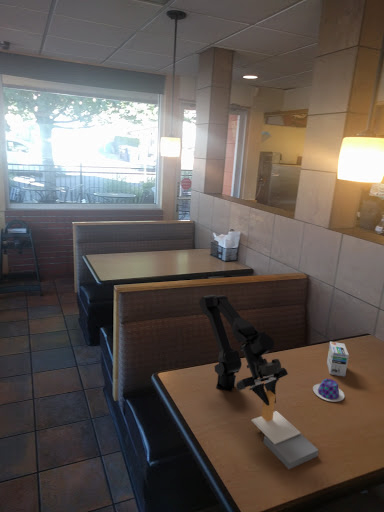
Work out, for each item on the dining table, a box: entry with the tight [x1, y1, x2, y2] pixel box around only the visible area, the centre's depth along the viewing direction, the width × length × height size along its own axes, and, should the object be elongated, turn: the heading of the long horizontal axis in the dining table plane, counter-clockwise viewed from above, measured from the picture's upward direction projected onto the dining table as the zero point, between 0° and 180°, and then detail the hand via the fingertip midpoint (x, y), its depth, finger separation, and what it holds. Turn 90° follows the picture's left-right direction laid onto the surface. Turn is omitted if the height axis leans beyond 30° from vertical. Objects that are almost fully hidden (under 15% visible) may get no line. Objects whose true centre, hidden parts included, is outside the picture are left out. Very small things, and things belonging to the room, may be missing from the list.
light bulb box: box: [326, 341, 350, 378], centre depth 168 cm, size 11×7×11 cm, turn 169°
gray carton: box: [262, 433, 319, 470], centre depth 122 cm, size 12×12×2 cm
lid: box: [251, 390, 302, 445], centre depth 126 cm, size 12×11×10 cm
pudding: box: [312, 378, 345, 403], centre depth 152 cm, size 12×12×5 cm
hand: (271, 404), depth 128 cm, fingers closed on lid, 2 cm apart
